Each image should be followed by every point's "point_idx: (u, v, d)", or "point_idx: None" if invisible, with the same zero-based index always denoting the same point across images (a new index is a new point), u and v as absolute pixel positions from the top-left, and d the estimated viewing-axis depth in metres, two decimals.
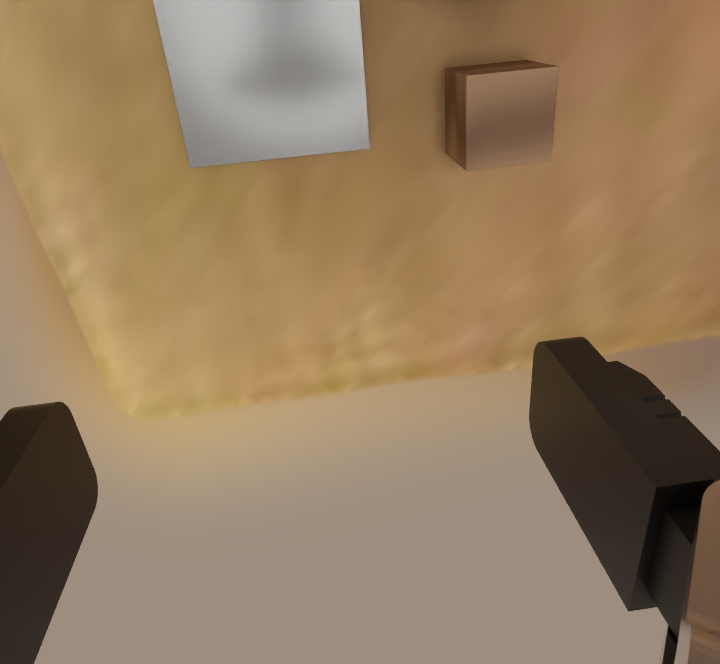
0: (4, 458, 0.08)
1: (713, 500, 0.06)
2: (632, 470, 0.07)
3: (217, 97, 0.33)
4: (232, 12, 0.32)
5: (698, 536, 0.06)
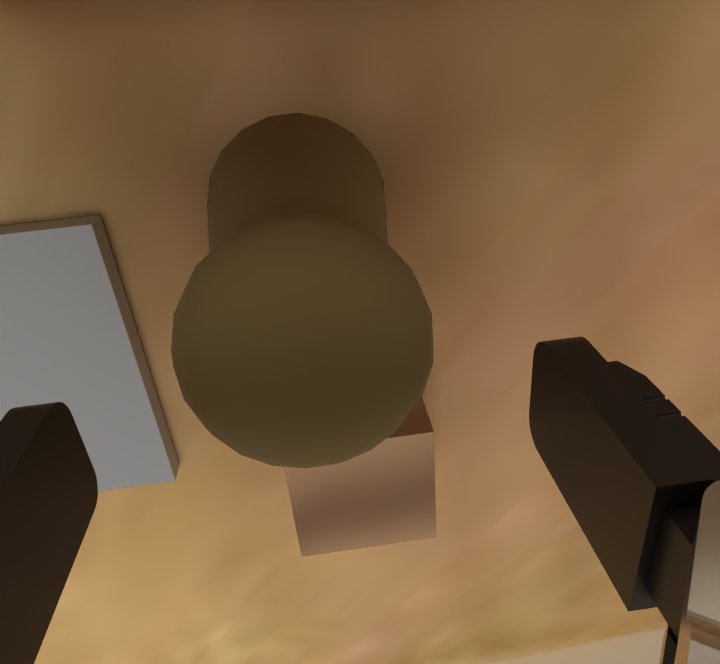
0: (4, 458, 0.08)
1: (713, 499, 0.06)
2: (632, 469, 0.07)
3: None
4: None
5: (698, 536, 0.06)
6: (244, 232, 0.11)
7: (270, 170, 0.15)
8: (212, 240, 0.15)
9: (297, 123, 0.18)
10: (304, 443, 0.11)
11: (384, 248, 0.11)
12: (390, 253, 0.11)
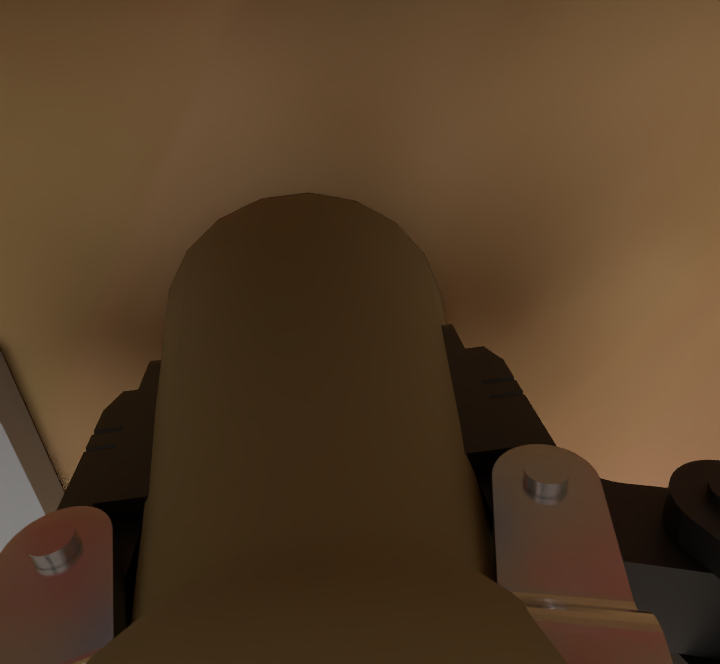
0: None
1: (501, 475, 0.07)
2: None
3: None
4: None
5: (494, 512, 0.06)
6: None
7: (260, 334, 0.08)
8: None
9: (309, 215, 0.11)
10: None
11: None
12: None
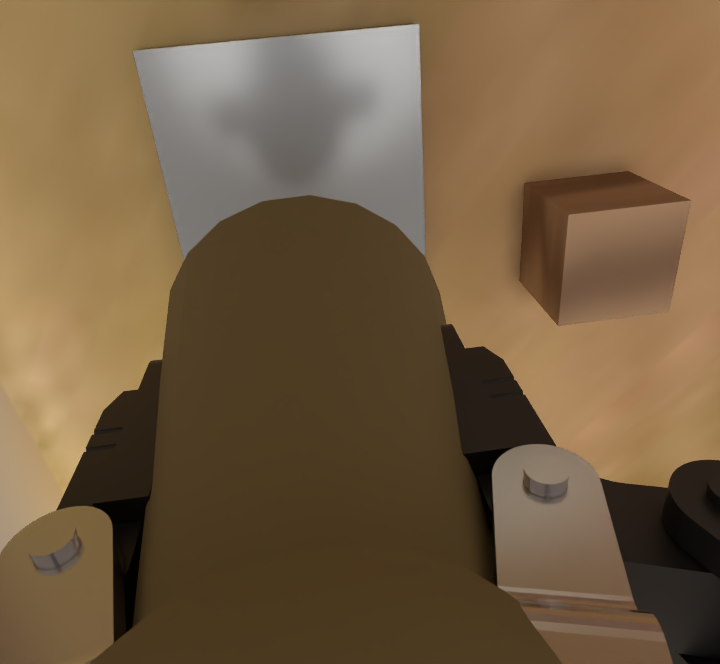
0: None
1: (501, 473, 0.07)
2: None
3: None
4: (253, 124, 0.24)
5: (495, 512, 0.06)
6: None
7: (260, 337, 0.08)
8: None
9: (309, 217, 0.11)
10: None
11: None
12: None
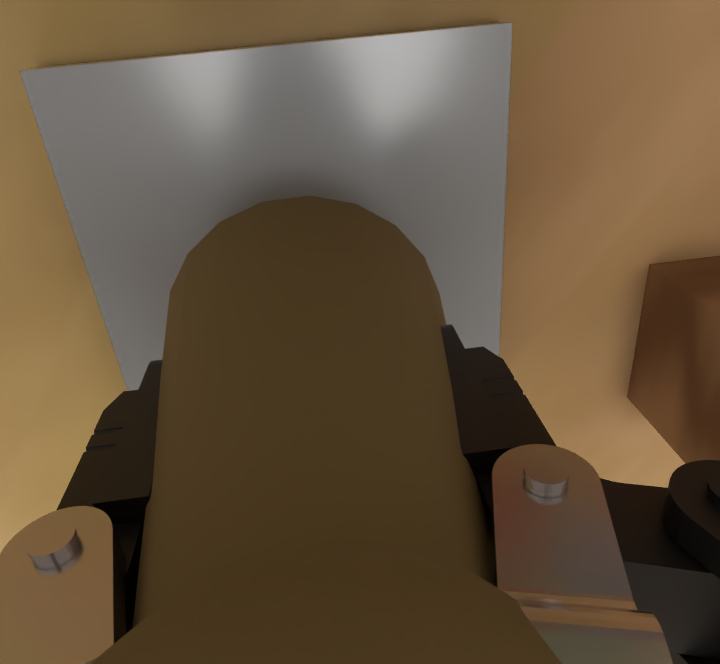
0: None
1: (501, 473, 0.07)
2: None
3: None
4: (231, 189, 0.14)
5: (494, 512, 0.06)
6: None
7: (260, 337, 0.08)
8: None
9: (309, 218, 0.11)
10: None
11: None
12: None
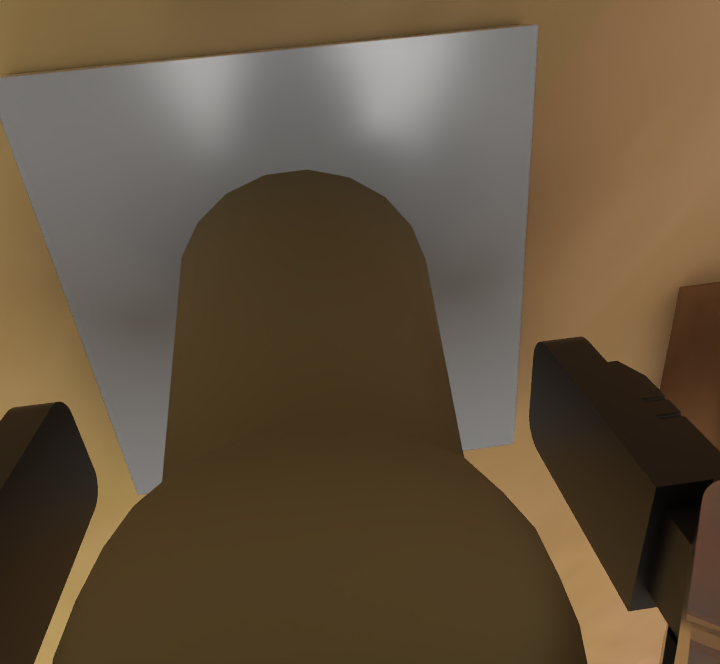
0: (4, 458, 0.08)
1: (713, 500, 0.06)
2: (631, 470, 0.07)
3: None
4: None
5: (697, 536, 0.06)
6: (199, 498, 0.05)
7: (264, 281, 0.09)
8: None
9: (307, 187, 0.12)
10: None
11: (498, 528, 0.05)
12: (511, 539, 0.05)
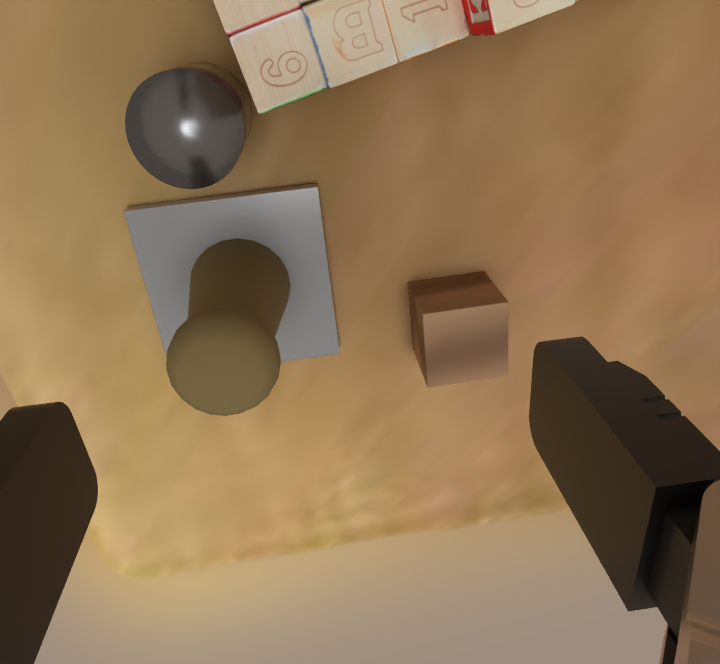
0: (4, 458, 0.08)
1: (712, 499, 0.06)
2: (632, 469, 0.07)
3: None
4: None
5: (698, 536, 0.06)
6: (195, 316, 0.26)
7: (216, 277, 0.30)
8: (188, 312, 0.30)
9: (235, 246, 0.33)
10: (221, 402, 0.26)
11: (253, 321, 0.26)
12: (255, 323, 0.26)
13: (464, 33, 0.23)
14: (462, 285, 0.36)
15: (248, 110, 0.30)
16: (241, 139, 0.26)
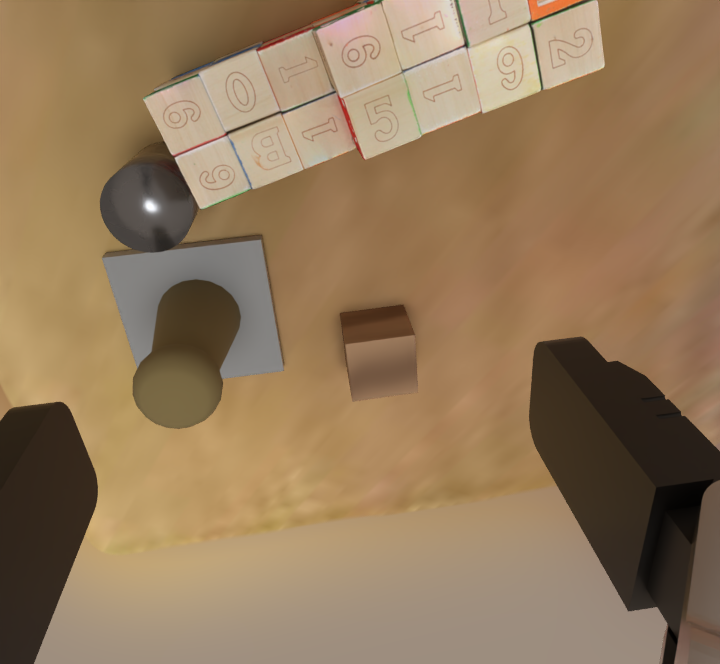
0: (4, 458, 0.08)
1: (713, 499, 0.06)
2: (633, 469, 0.07)
3: None
4: None
5: (698, 536, 0.06)
6: (155, 352, 0.34)
7: (175, 316, 0.38)
8: None
9: (193, 286, 0.41)
10: (174, 419, 0.34)
11: (199, 357, 0.34)
12: (201, 359, 0.34)
13: (352, 146, 0.31)
14: (382, 318, 0.44)
15: None
16: (190, 216, 0.33)
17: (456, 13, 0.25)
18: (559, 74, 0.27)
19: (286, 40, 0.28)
